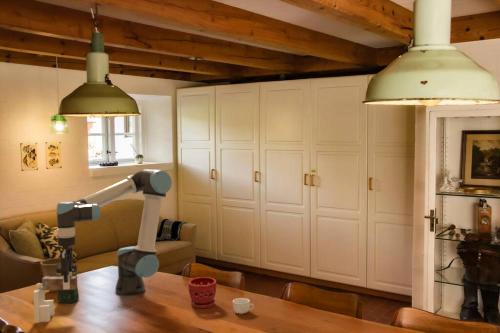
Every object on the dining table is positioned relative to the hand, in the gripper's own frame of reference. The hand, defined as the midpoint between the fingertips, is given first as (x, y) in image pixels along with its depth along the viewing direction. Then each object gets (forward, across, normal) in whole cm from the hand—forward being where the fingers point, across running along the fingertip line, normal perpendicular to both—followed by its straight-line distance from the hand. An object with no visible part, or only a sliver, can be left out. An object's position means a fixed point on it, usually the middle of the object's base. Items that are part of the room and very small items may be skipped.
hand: (67, 287), depth 229 cm
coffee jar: (+13, -22, -5) cm, 27 cm away
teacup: (+13, +9, +79) cm, 80 cm away
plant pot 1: (+13, -41, -16) cm, 46 cm away
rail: (0, 0, -3) cm, 3 cm away
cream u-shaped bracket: (+14, +1, -10) cm, 17 cm away
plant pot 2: (+13, -4, +61) cm, 62 cm away
